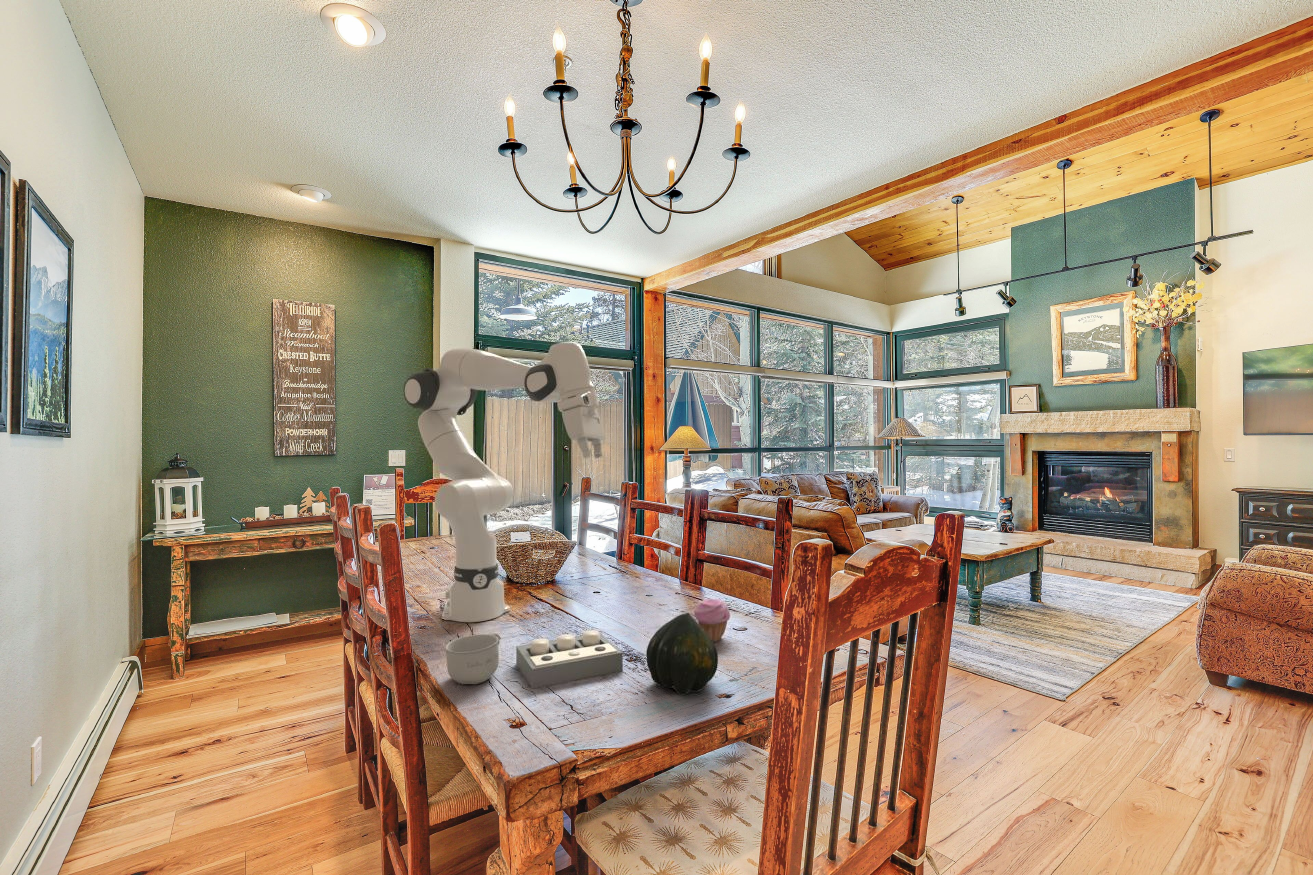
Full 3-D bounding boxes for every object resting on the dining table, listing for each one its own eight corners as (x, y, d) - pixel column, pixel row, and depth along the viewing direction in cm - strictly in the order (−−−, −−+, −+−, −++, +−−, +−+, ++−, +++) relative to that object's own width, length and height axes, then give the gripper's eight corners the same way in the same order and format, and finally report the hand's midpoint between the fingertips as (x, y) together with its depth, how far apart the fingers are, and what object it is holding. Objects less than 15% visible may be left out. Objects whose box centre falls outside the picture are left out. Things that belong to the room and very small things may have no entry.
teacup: (469, 694, 117) (469, 654, 117) (434, 682, 123) (434, 644, 123) (520, 670, 129) (520, 634, 129) (486, 660, 134) (485, 625, 134)
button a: (528, 653, 130) (528, 640, 130) (546, 650, 132) (546, 637, 132) (533, 659, 127) (533, 646, 127) (551, 656, 129) (551, 643, 128)
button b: (554, 649, 133) (554, 635, 133) (571, 646, 135) (571, 633, 135) (560, 655, 129) (560, 641, 129) (577, 652, 131) (577, 638, 131)
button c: (579, 644, 136) (579, 631, 136) (596, 642, 137) (596, 629, 137) (585, 650, 132) (585, 637, 132) (602, 647, 134) (602, 634, 134)
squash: (651, 681, 110) (697, 614, 115) (623, 656, 124) (665, 597, 128) (702, 720, 114) (744, 654, 119) (669, 692, 128) (709, 634, 132)
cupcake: (687, 638, 148) (687, 599, 148) (708, 630, 154) (709, 592, 154) (716, 647, 142) (716, 606, 142) (736, 638, 148) (736, 599, 148)
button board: (516, 663, 132) (516, 644, 132) (599, 649, 141) (599, 630, 141) (532, 688, 120) (532, 666, 120) (622, 670, 129) (622, 650, 128)
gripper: (581, 410, 157) (594, 460, 156) (554, 403, 137) (568, 461, 136) (603, 404, 156) (616, 454, 155) (579, 396, 136) (594, 453, 135)
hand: (593, 457), depth 145 cm, fingers open, 8 cm apart
